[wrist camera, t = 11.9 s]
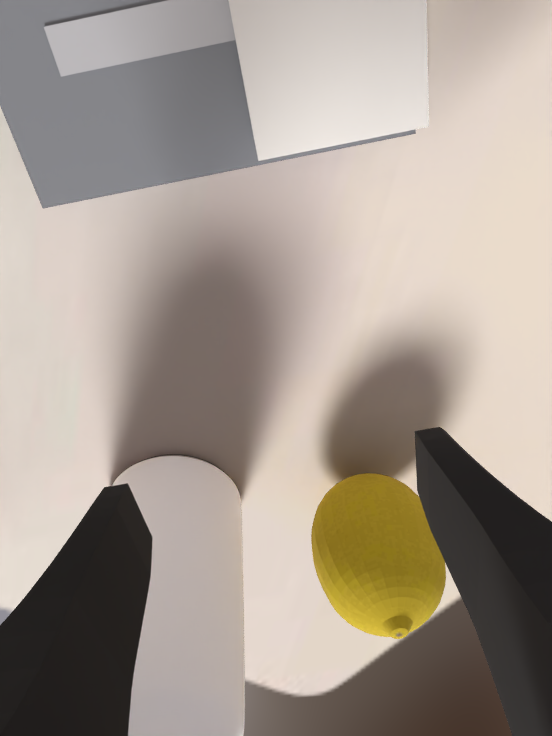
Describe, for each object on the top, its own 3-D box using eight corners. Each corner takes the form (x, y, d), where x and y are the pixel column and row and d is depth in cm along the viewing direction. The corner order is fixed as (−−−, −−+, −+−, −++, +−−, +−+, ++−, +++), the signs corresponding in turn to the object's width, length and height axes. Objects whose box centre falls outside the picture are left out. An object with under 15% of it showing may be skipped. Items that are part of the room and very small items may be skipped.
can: (99, 451, 24) (3, 749, 14) (240, 447, 25) (245, 734, 15) (118, 545, 28) (52, 839, 18) (242, 540, 28) (247, 824, 18)
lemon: (295, 449, 25) (317, 603, 18) (411, 430, 25) (477, 577, 18) (309, 527, 28) (333, 684, 21) (413, 510, 28) (471, 663, 21)
